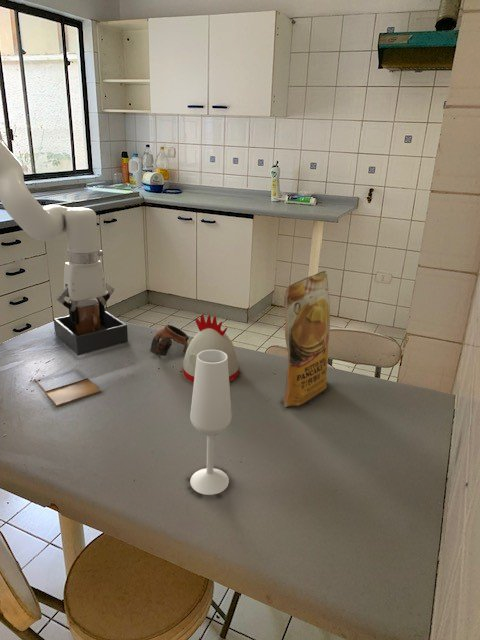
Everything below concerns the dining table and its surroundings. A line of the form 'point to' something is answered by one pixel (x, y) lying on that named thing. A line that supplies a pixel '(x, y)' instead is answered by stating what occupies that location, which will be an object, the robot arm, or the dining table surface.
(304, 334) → the pancake mix bag
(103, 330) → the dark grey open box
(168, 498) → the dining table surface
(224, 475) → the champagne flute
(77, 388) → the wooden flat board
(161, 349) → the pottery mug
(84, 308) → the brown mug
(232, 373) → the kitchen timer
